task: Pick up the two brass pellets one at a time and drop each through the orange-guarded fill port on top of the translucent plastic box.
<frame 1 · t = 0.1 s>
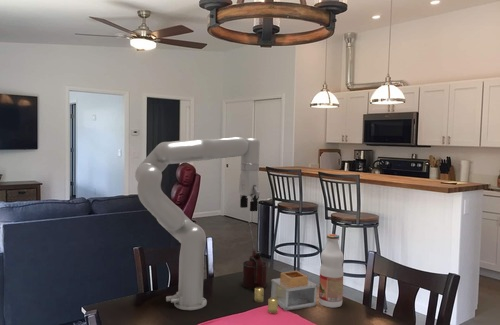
hand: (248, 209, 166), 37 cm above the table, tool pointing down, fingers open, 9 cm apart
brass pellet a: (258, 300, 163), on the table
translucent plastic box: (293, 302, 162), on the table
brass pellet b: (272, 312, 152), on the table
fruit juice: (330, 304, 162), on the table
oil can: (252, 282, 185), on the table
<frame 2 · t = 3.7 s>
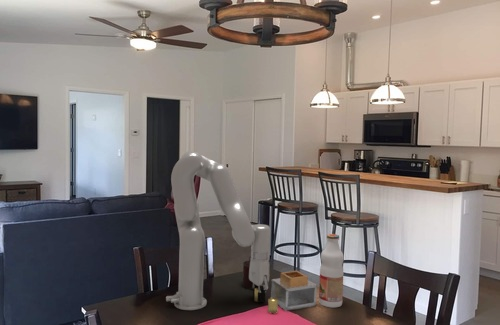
hand: (258, 299, 163), 0 cm above the table, tool pointing down, fingers closed on brass pellet a, 3 cm apart
brass pellet a: (258, 300, 163), on the table, touching gripper
everything else where it was.
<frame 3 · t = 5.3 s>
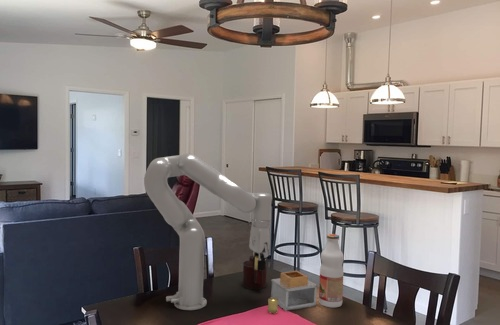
hand: (258, 267, 162), 13 cm above the table, tool pointing down, fingers closed on brass pellet a, 3 cm apart
brass pellet a: (258, 269, 162), point 13 cm above the table, touching gripper
everything else where it was.
when the fingers open (12 cm above the table, at t = 7.3 s): brass pellet a drops 11 cm, resting on translucent plastic box.
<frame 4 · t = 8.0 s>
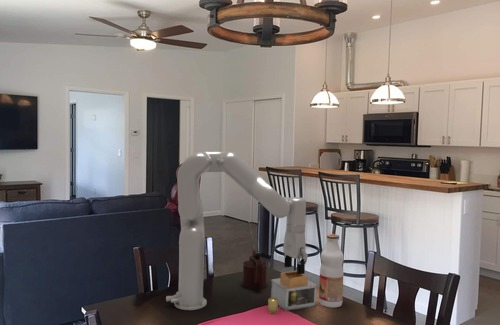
hand: (294, 270, 161), 13 cm above the table, tool pointing down, fingers open, 9 cm apart
brass pellet a: (292, 300, 162), point 1 cm above the table, touching translucent plastic box
everything else where it was.
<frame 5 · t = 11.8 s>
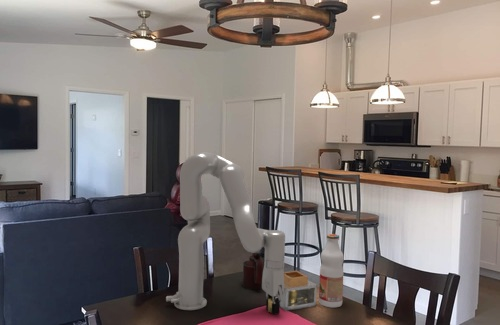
hand: (272, 310, 152), 0 cm above the table, tool pointing down, fingers closed on brass pellet b, 3 cm apart
brass pellet b: (272, 311, 152), on the table, touching gripper
everything else where it was.
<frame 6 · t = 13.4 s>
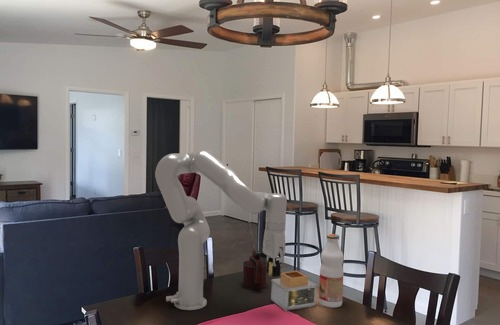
hand: (273, 273, 151), 15 cm above the table, tool pointing down, fingers closed on brass pellet b, 3 cm apart
brass pellet b: (273, 275, 152), point 14 cm above the table, touching gripper
everything else where it was.
when the fingers open (12 cm above the table, at t = 15.2 s): brass pellet b drops 6 cm, resting on brass pellet a.
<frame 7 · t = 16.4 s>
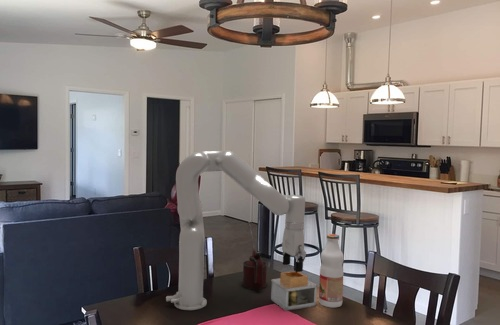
hand: (292, 267, 161), 14 cm above the table, tool pointing down, fingers open, 9 cm apart
brass pellet a: (292, 301, 162), point 1 cm above the table, touching brass pellet b, translucent plastic box
brass pellet b: (294, 289, 161), point 6 cm above the table, touching brass pellet a
everything else where it was.
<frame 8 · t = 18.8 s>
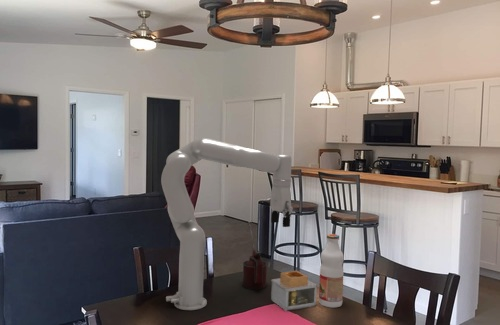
hand: (280, 224, 168), 30 cm above the table, tool pointing down, fingers open, 9 cm apart
nothing on the table moved.
at the end: brass pellet a inside the target area on the translucent plastic box (0.3 cm from its centre), point 0.6 cm above the translucent plastic box's base; brass pellet b inside the target area on the translucent plastic box (0.5 cm from its centre), point 5.5 cm above the translucent plastic box's base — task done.
